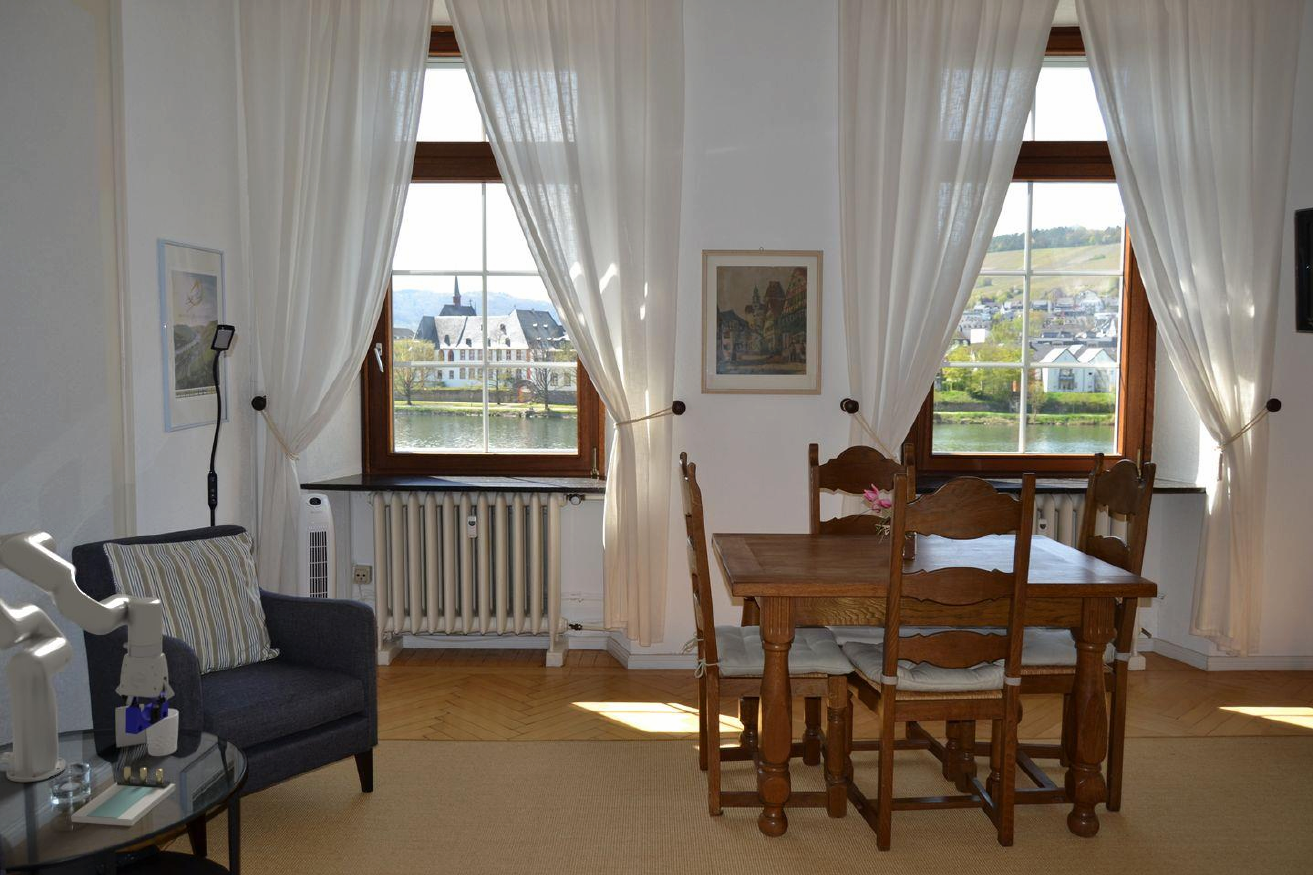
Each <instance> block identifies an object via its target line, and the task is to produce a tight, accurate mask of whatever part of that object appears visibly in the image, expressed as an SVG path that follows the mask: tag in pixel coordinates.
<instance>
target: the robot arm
mask: <svg viewBox="0 0 1313 875" xmlns="http://www.w3.org/2000/svg"><path fill="white" fill-rule="evenodd" d="M56 552H57V543H56V541H55V538H53V536H52V535H50V534H49V533H47V532H46V531H42V530H36V529H35V530H27V531H20V532H14V533H9V534H8V533H7V534H2V535H0V570H4V569H7V570H9V571H10V572H12V573H13V574H15V575H17V577H20V578H22V579H23V580H24V581H26V582H28V583H29V584H31V585H33V586H34V587H35V588H37V589H39V590H41V591H42V592H44V593H45V594H46V595H49V597H50V598H51V601H52V603H53V605H54V606H55V607H56V609H57V610H58V611H59V613H60V614H61V615H62V616H63V617H64V618H65V620H68V621H69V622H70V623H71V624H74V625H76V626H77V627H78V628H80V629H82V630H84V631H86V632H88V633H90V634H93V635H97V636H98V635H100V636H101V635H102V636H103V635H107V634H110V633H111V632H113V631H114V630H116V629H118V628H120V627H123V626H126V625H127V642H124V643H123V648H124V649H127V653H125V654H124V656H123V660H122V665H121V670H120V671H121V672H120V682H119V685H118V686H117V687H116V689H115V692H116V694H118V695H119V696H120V697H121V698H122V699H123V701H124V702H125V704H126V705H125V706H129V707H137V708H140V704H141V703H140V702H139V701H138V700H139V698H148V699H150V701H151V703H152V704H153V708H151V724H155V723H156V722H158V721H159V720H160V718H161V705H162V704H163V703H164V702H165V701H167V700H168V701H169V699H171V698H172V697H173V696H175V691H174V690H173V689H172V687H171V685H170V684H169V671H168V670H169V669H168V663H167V658H166V654H165V653H164V652H163V612H164V610H163V601H162V600H161V599H159V598H158V597H151V596H149V597H147V596H146V597H145V596H144V597H139V596H133V595H131V594H130V595H129V594H123V593H116V594H113V595H111V596H108V597H106V598H104V599H102V600H100V601H97V600H95V599H93V598H92V597H90V596H89V595H87V594H86V593H85V592H83V591H82V590H81V589H80V588H79V587H78V585H77V583H76V574H77V567H76V566H75V565H74V564H73V563H71V562H69V561H68V560H66V559H65V558H63V557H61V556H59V555H58V554H57V553H56ZM62 632H63V631H61V630H60V628H58V626H57V625H56V624H55V623H54V621H52V619H51V618H50V616H48V614H47V613H46V612H45V610H43V609H42V608H40V607H39V606H37V605H35V604H34V603H30V602H18V603H14V604H12V605H10V604H8V603H7V602H5V600H4V599H3V598H2V596H0V652H5V651H9V650H12V649H13V648H14V649H15V648H16V647H18V646H20V645H22V647H23V648H22V649H20V650H19V651H17V652H16V653H14V654H13V655H12V657H11V658H10V659H9V660H8V662H7V664H6V665H5V666H6V667H5V679H6V682H7V686H8V690H9V696H10V697H9V698H10V708H11V709H10V710H11V729H12V732H11V733H12V752H9V751H8V752H7V751H6V752H5V751H4V752H3V753H2V755H1V758H0V764H1V765H9V768H8V769H7V771H6V778H7V779H8V780H9V781H12V782H17V783H32V782H33V783H34V782H40V781H45V780H46V779H47V780H48V779H50V778H49V777H50V776H53V775H55V774H57V773H59V772H61V771H62V770H64V769H65V770H66V768H67V761H66V760H65V759H63V758H62V757H60V754H59V730H58V703H57V695H56V691H55V688H54V686H53V684H52V678H53V677H55V676H56V675H58V674H60V673H62V672H63V671H64V670H65V669H67V668H68V667H69V666H70V664H71V663H72V662H73V658H74V649H73V647H72V645H71V643H70V641H69V640H68V639H67V637H66V636H65V635H64V633H62ZM162 692H163V693H165V696H163V697H162ZM65 767H66V768H65ZM65 770H64V771H65ZM61 773H62V772H61ZM53 777H54V776H53Z"/></svg>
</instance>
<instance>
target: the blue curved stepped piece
mask: <svg viewBox="0 0 1313 875" xmlns="http://www.w3.org/2000/svg"><path fill="white" fill-rule="evenodd" d="M163 696H165V692H162V697H163ZM151 708H153V704H152V702H151V703H149V704H147V705H146V704H145V705H144V709H143V711H142V712H141V708H137V707H128V708H126V719H125V733H131V734H138V733H140V732H142V731H143V730H145V731H146V729H147V728H149V727H150V726H152V725H154V724H151ZM168 709H169V699H168V700H167V701H165V702H164V703H163V704H162V705H161V718H160V720H159V721H161V720H162V719H164V718H166V717H168ZM159 721H158V722H159ZM156 723H157V722H156Z"/></svg>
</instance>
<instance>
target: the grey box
mask: <svg viewBox="0 0 1313 875" xmlns="http://www.w3.org/2000/svg"><path fill="white" fill-rule="evenodd" d="M139 704H140V708H141V712H142V711H143V709H144V707H145V704H144V703H139ZM128 707H129V706H127V705H125V706H120V707H115V708H114V709H115V714H114V715H115V744H116V748H122V747H128V746H129V747H130V746H134V745H141V744H147V739H146V729H145V730H143V731H142V732H140V733H138V734H131V733H125V719H126V708H128Z"/></svg>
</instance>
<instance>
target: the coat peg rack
mask: <svg viewBox="0 0 1313 875" xmlns="http://www.w3.org/2000/svg"><path fill="white" fill-rule="evenodd" d="M131 769H132V768H131V766H130V765H129V766H125V767H123V777H122V778H120V779H118V781H116V782H117V785H124V786H139V787H154V788H167V787H168V786H169V785H170V784H171V781H170V780H164V776H163V775H164V769H163V768H157V769H155V771H156V772H155V775H156V776H155V777H156V780H155V779H148V778H147V776H148V773H147V770H148V769H147V767H141V768H139V776H140V777H139V778H137V779H136V778H132V775H131Z"/></svg>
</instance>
